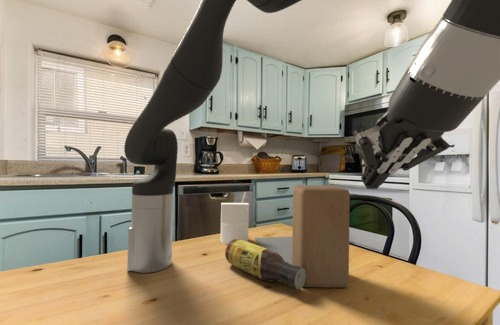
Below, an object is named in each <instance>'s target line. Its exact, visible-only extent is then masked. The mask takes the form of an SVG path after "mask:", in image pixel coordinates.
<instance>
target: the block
mask: <svg viewBox="0 0 500 325" xmlns="http://www.w3.org/2000/svg"><path fill="white" fill-rule="evenodd" d="M292 190H293V193H292V236H293V243H292V265H294V266H300V267H302V268H304V269H305V271H306V280H305V283H304V285H303V288H304V287H305V288H347V287H349V282H350V280H349V279H350V278H349V277H350V276H349V274H350V273H349V272H350V267H349V266H350V261H349V260H350V200H351V198H350V197H351V196H350V192H349V190H348V189H346V188H342V187H339V186H333V185H316V184H315V185H313V184H311V185H310V184H307V185H306V184H301V185H300V184H297V185H295V186H294V187H293V189H292Z"/></svg>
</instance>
